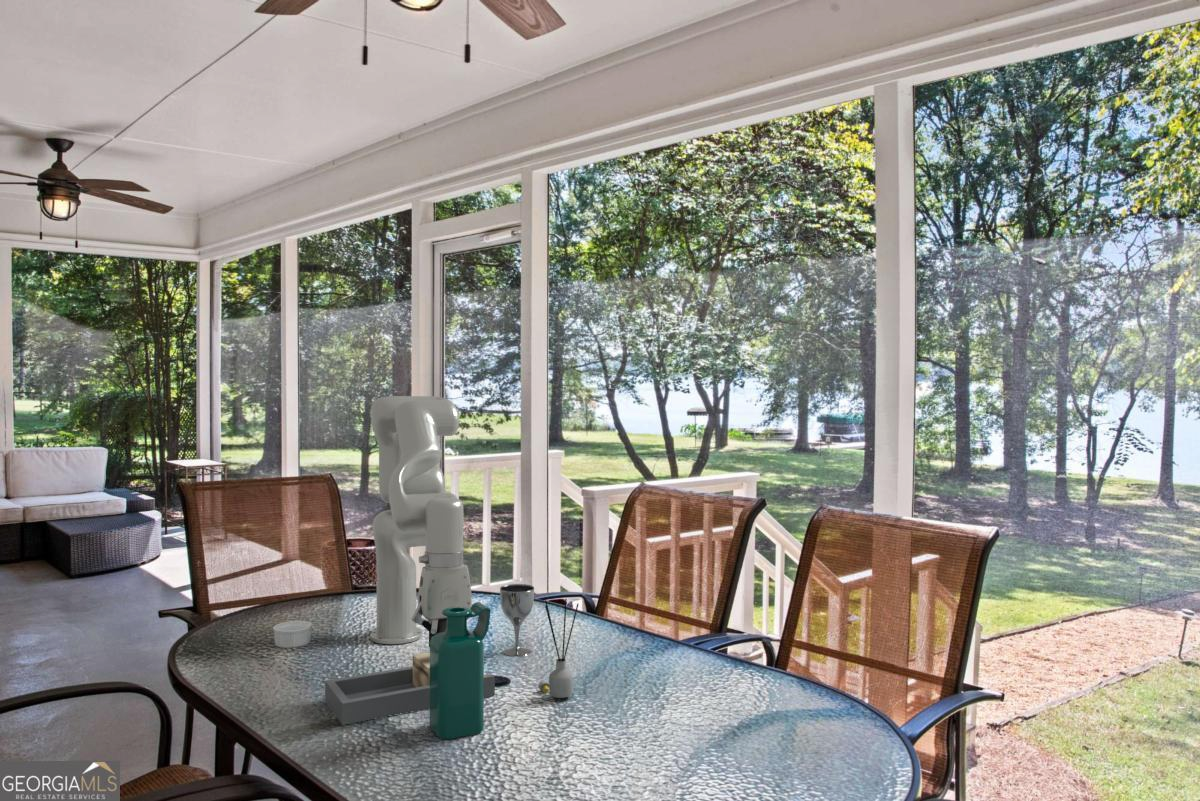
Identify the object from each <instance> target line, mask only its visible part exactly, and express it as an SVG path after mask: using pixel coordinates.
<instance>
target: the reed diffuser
mask: <svg viewBox="0 0 1200 801" xmlns="http://www.w3.org/2000/svg"><path fill="white" fill-rule="evenodd" d="M567 601H568V600H567V598H565V600H564V617H563V634H562V636H563V637H562V639H563V640H562V654H561V656H562V658H560V655H559V649H558V645H557V641H556V636H555V633H554V631H555V630H554V629H553V628H554V627H553V623H552V619H551V615H550V614H551V613H550V610H549V607H548V606H549V605H548V601H547V597H546V596H544V602H545V606H544V608H545V610H546V615H547V618H548V623H549V627H550V632H551V635H552V637H553V638H552V639H553V642H554V646H555V650H556V654H557V659H556V660H555V661H556V662H555V663H556V665H555V667H556V668H555V669H554V670H552V671H551V672H550V674H549V675H548V680H542V681H541V682H539V684H538V689H539V691H540V692H542V693H543V694H547V693H549V696H551V697H553V698H558V699H559V698H561V699H562V698H568V697H570V696H572V695H573V684H574V681H573V680H574V679H573V678H574V677H573V674H572V672H571V671H570V670H569V669H567V668H566V667H567V666H566V665H567V664H566V661H567V660H566V655H567V652H568V647H569V644H570V641H571V635H572V631H573V628H574V624H575V620H576V616H577V613H578V608H579V603H577V604H576V607H575V612H574V616H573V620H572V624H571V628H570V631H569V636H568V640H567V644H566V647H565V639H566V638H565V635H566V621H567V620H566V617H567V616H566V615H567Z"/></svg>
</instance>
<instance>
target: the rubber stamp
mask: <svg viewBox="0 0 1200 801" xmlns="http://www.w3.org/2000/svg"><path fill="white" fill-rule="evenodd" d="M446 629H447V618H444V619H438V625H437V633H441V632H445V631H446ZM412 666H413V685H414V686H415V687H422V686H427V685H430V651H429V652H422V653H421V652H420V653H416V654H415V653H414V654H412Z"/></svg>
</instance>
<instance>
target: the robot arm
mask: <svg viewBox="0 0 1200 801" xmlns="http://www.w3.org/2000/svg"><path fill="white" fill-rule="evenodd" d="M370 421H371V427H372V430H373V433H374V436H375V439H376V442H377V446H378V488H379V490H378V491H379V498H381V501H382V502H384V503H386V504H389V506H390V507H389V508H390V509H387V510H383V511H381V512H379V513H378V514H376V515H375V517H374V519H373V521H372V534H373V535H372V536H373V540H374V547H375V557H376V558H375V559H376V560H375V561H376V563H375V565H376V629H374V630H373V631H371V633H370V634H369V639H370V640H371V641H372V642H374V643H377V644H380V645H382V644H383V645H402V644H407V643H412V642H415V641H418V640H419V639H421V638H422V637H423V629H421V628H420V627H417V625H419V626H422V627H423V628H424V629H426V630H427V632H428V647H429V649H430V641H431V638H432V637H433V636H434V635H436V634H438V633H437V625H438V619H444V618H447V616H444V615H443V614H442V611H443V610H444V609H446V608H450V607H466V608H469V609H470V608H471V607H472V605H473V601H472V598H473V597H472V588H471V587H472V586H471V580H470V579H471V578H470V572H469V567H468V565H467V564H464V504H463V502H462V500H461V499H459V498H458V497H457V495H456V494H454V493H452V492H446V482H445V481H446V480H445V476H444V472H443V470H442V468H441V467H439V466H438V465H439V463H440V462H441V460H442V456H443V455H442V454H443V453H442V449H441V444H440V441H439V437H451V436H454V435H455V434H456V433H457V432H458V430H459V427H460V415H459V411H458V409H457V406H456V405H455V403H454V402H453V401H451V400H450V399H447V398H445V397H442V396H433V395H431V396H430V395H422V396H421V395H417V396H416V395H415V396H414V395H394V396H393V395H390V396H383V397H378V398H377V399H375V400H374V401H373V402H372V404H371V407H370ZM416 547H425V551H424V554H423V555H419V556H418V562H419V564H424V565H425V566H423V567H422V568H421V573H420V579H419V586H418V597H417V565H416V562H415V560H414V559H413V558H412V556H411V555H409V554H410V553H408V551H406V549H410V548H416ZM422 616H423V617H424V618H422ZM426 619H427V620H426ZM469 619H470V618H469V617H467V621H468V620H469Z"/></svg>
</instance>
